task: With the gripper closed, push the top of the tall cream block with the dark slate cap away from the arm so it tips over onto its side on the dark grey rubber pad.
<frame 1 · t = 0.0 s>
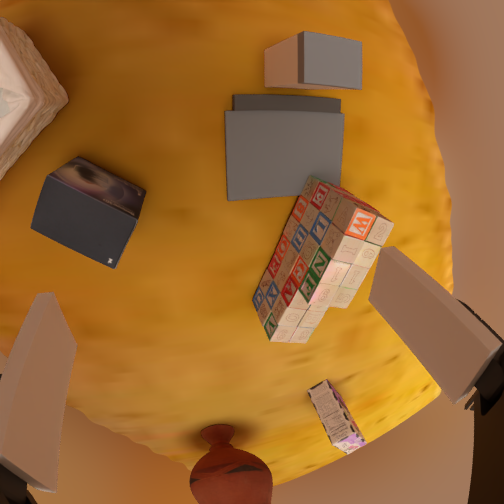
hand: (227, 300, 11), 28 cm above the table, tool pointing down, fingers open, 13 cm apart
candy box: (324, 393, 69), on the table
small box: (102, 192, 34), on the table
pad: (287, 145, 37), on the table
terracotta clay vase: (218, 431, 66), on the table
tall block: (287, 69, 32), on the table
stack of blocks: (295, 245, 44), on the table, touching pad
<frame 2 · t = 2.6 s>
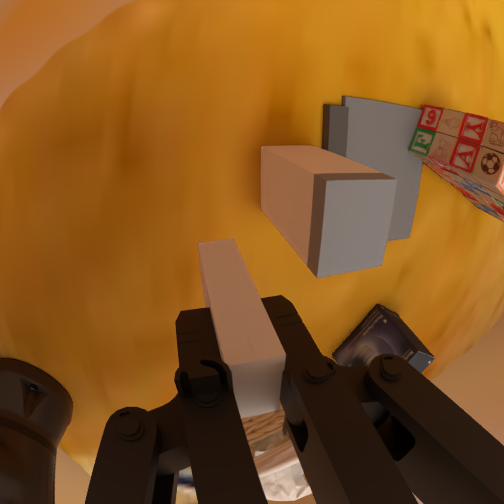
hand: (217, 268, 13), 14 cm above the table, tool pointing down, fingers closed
storage basket: (276, 409, 46), on the table
small box: (364, 333, 42), on the table
pad: (375, 174, 29), on the table
tall block: (286, 177, 27), on the table
stack of blocks: (457, 164, 32), on the table, touching pad
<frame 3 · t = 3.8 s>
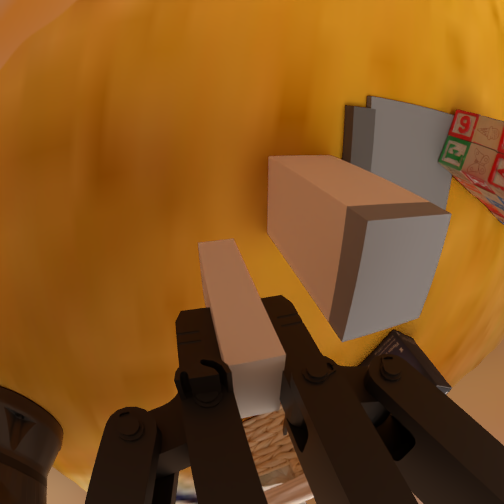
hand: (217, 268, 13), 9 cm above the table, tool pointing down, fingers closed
storage basket: (279, 435, 42), on the table
small box: (376, 359, 37), on the table
pad: (400, 190, 24), on the table
tall block: (299, 194, 22), on the table
stack of blocks: (485, 176, 27), on the table, touching pad
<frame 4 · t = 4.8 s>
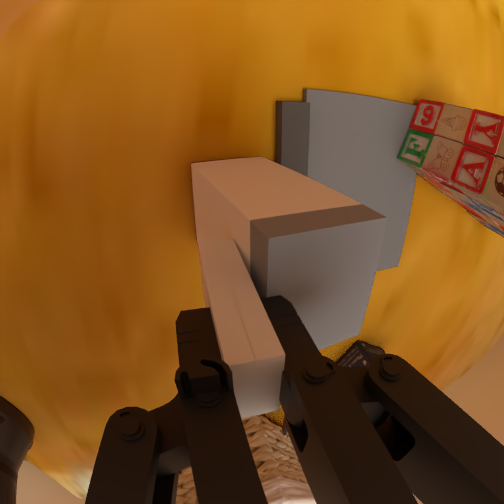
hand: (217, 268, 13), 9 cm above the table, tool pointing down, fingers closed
storage basket: (245, 443, 40), on the table
small box: (342, 370, 36), on the table
pad: (352, 191, 23), on the table
tall block: (228, 201, 21), on the table, tilted 7°, touching gripper
stack of blocks: (460, 174, 26), on the table, touching pad
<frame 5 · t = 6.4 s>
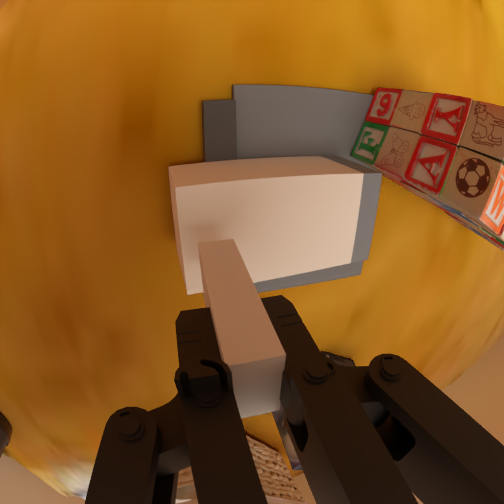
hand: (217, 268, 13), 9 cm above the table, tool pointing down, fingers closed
storage basket: (214, 449, 39), on the table
small box: (308, 380, 35), on the table
pad: (297, 193, 22), on the table
tall block: (176, 226, 17), point 4 cm above the table, tilted 95°, touching pad
stack of blocks: (435, 171, 24), on the table, touching pad
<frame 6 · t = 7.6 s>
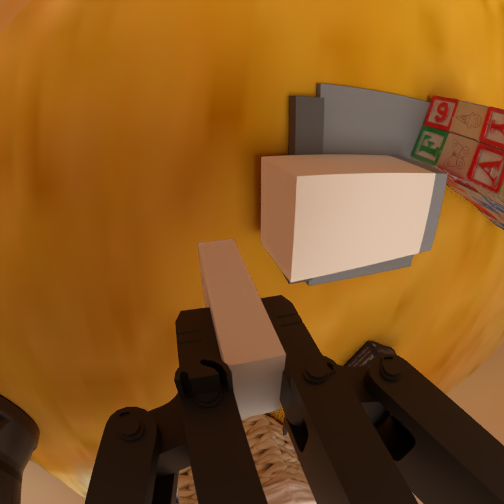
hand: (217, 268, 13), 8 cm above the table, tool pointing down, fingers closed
storage basket: (252, 443, 40), on the table
small box: (352, 370, 35), on the table
pad: (366, 189, 23), on the table
tall block: (275, 215, 17), point 4 cm above the table, tilted 95°, touching pad
stack of blocks: (473, 172, 24), on the table, touching pad
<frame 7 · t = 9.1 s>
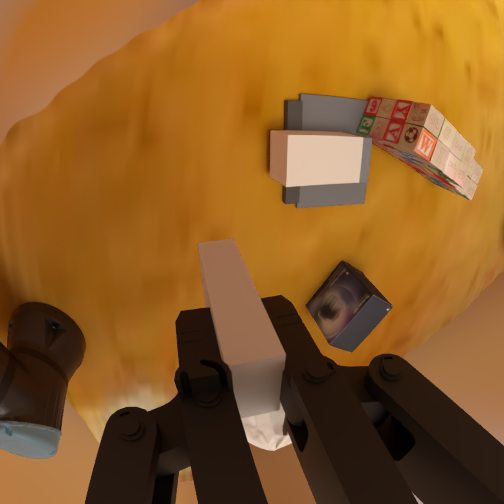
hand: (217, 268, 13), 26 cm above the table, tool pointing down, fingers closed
storage basket: (258, 359, 56), on the table
small box: (333, 288, 52), on the table
pad: (328, 151, 39), on the table
tall block: (278, 157, 34), point 4 cm above the table, tilted 95°, touching pad
stack of blocks: (406, 144, 42), on the table, touching pad
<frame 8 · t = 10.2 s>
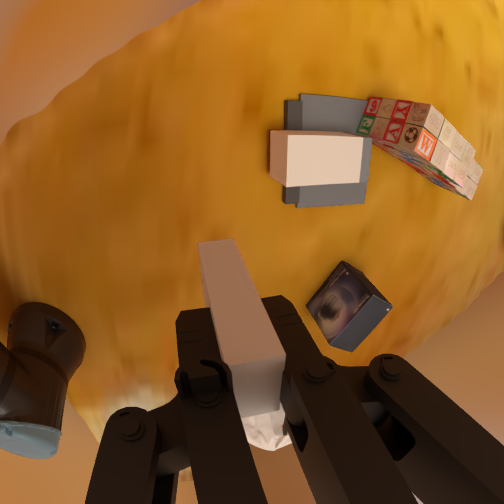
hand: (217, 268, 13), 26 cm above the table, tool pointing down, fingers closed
storage basket: (258, 359, 56), on the table
small box: (333, 288, 52), on the table
pad: (328, 151, 39), on the table
tall block: (278, 157, 34), point 4 cm above the table, tilted 95°, touching pad
stack of blocks: (406, 144, 42), on the table, touching pad
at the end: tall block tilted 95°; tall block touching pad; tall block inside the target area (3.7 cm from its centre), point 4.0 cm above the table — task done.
